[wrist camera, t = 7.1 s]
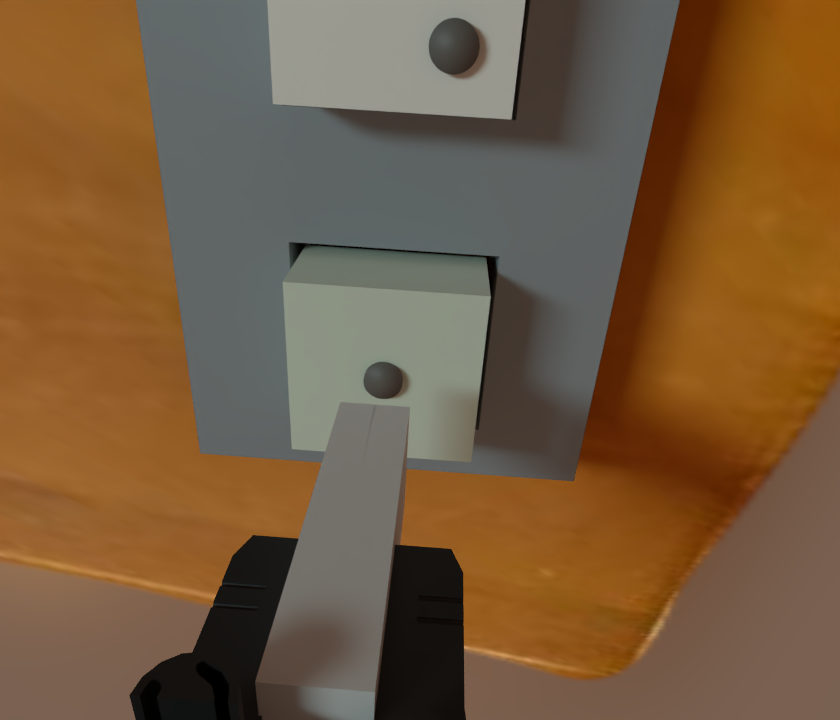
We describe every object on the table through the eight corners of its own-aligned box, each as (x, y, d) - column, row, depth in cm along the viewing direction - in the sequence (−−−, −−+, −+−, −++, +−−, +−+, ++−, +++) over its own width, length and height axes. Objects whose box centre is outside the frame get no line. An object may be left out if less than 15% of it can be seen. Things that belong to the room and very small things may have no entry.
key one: (469, 408, 20) (471, 467, 17) (310, 397, 20) (290, 453, 18) (486, 257, 18) (491, 299, 15) (305, 244, 18) (280, 284, 15)
